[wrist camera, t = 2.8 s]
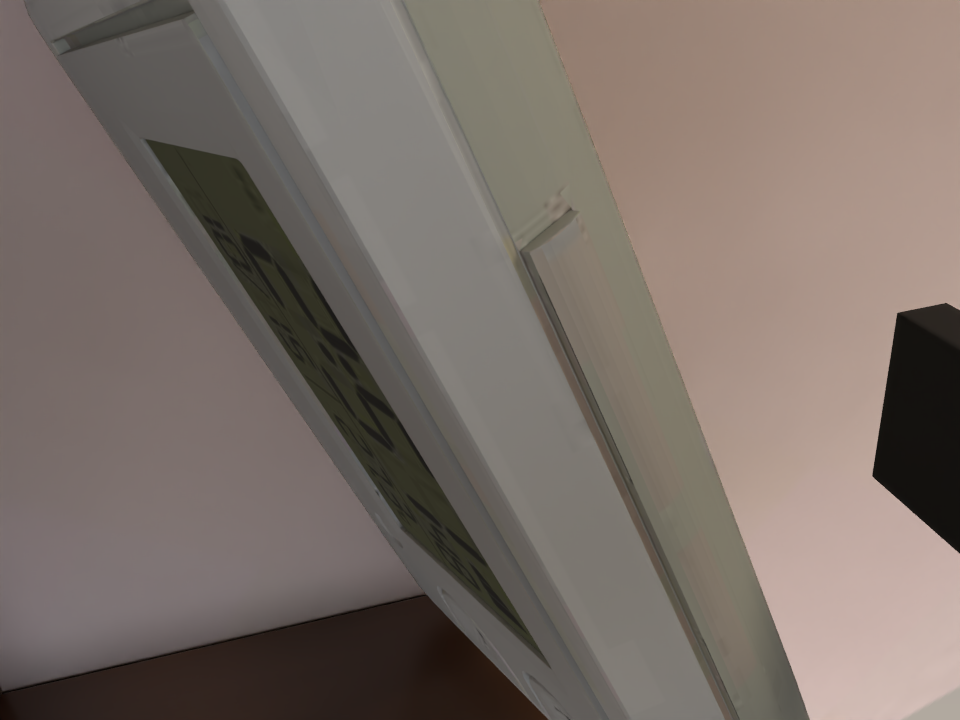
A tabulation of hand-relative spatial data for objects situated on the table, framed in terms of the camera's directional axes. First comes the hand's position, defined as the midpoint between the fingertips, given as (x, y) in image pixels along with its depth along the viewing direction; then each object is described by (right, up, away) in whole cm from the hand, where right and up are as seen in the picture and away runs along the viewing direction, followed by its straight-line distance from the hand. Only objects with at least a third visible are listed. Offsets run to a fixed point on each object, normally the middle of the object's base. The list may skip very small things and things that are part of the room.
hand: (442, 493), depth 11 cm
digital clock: (-2, +4, +7) cm, 8 cm away
